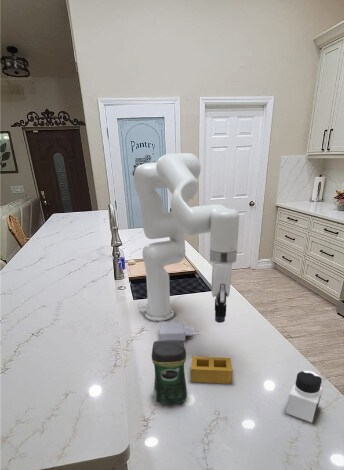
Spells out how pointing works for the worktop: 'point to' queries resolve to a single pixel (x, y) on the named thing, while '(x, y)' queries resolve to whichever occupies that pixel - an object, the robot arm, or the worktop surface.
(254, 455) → the worktop surface
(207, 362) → the ochre block
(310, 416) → the medicine bottle
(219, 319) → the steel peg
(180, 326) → the charger
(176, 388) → the coffee jar
